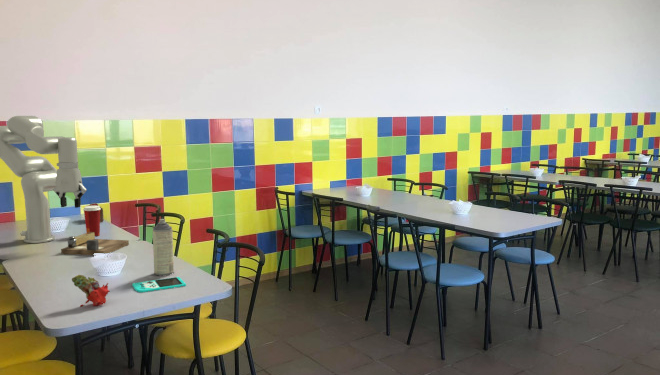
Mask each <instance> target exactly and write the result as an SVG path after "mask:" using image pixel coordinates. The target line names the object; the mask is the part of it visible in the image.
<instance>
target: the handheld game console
mask: <svg viewBox="0 0 660 375" xmlns="http://www.w3.org/2000/svg"><path fill="white" fill-rule="evenodd" d="M131 285H132V287H133V289H134V290H135V292H138V293H148V291H149V292H155V291H154V290H156V291H161V290H160V289H163V290H169V289H168V288H170V289H175V288H174V287H177V288H182V287H181V286H184V287H187V283H186V282H185V281H184V280H183V279H182V278H181V277H180V276H175V277H169V278H160V279H153V280H145V281H140V282H133V283H131Z"/></svg>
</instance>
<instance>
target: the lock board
mask: <svg viewBox="0 0 660 375" xmlns="http://www.w3.org/2000/svg"><path fill="white" fill-rule="evenodd" d="M129 241H130V240H129V239H128V240H127V239H105V238H104V239H103V238H95V239H93V240H87V242H85V243H82V244H80V245H77V246H75V247H68V246H66V247H64V248H61V249H60V250H61V251H60V252H61V255H74V256H75V255H77V256H78V255H79V256H94V255H93V254H94V253H109V254H111V253H114V252H116V251H117V250H120V249H123V248H124V247H127V246H129V245H130V242H129ZM115 250H116V251H115ZM113 251H114V252H113ZM110 252H111V253H110Z"/></svg>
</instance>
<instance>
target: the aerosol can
mask: <svg viewBox="0 0 660 375" xmlns="http://www.w3.org/2000/svg"><path fill="white" fill-rule="evenodd" d="M173 235H174V234H173V227H172V226H170V224H168V223H167V222H166V220H165V219H164V218H160V219H159V222H157V224H156V225H155V227H153V228H152V244H153V245H152V249H153V269H154V270H153V272H154V275H155V276H157V275H159V277H164V276H163V275H166V276H170V274H171V275H173V274H174V273H175V271H174V270H175V269H174V239H173V238H174V236H173ZM172 273H173V274H172Z"/></svg>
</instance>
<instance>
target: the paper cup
mask: <svg viewBox="0 0 660 375" xmlns="http://www.w3.org/2000/svg"><path fill="white" fill-rule="evenodd" d="M100 207H101V206H100V205H98V206H88V205H86V206H84V208H83V209H82V210H83V215H84V224H85V231H86V232H85V233H88V232H94V233H95V237H99V236H100V235H101V234H100V231H101V222H100Z"/></svg>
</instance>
